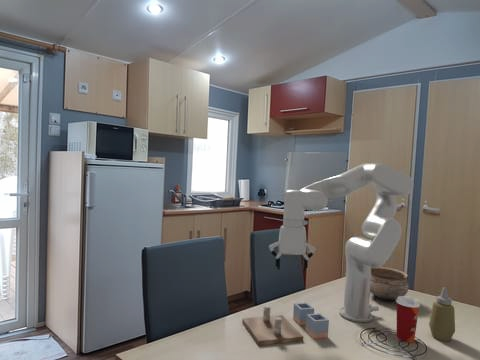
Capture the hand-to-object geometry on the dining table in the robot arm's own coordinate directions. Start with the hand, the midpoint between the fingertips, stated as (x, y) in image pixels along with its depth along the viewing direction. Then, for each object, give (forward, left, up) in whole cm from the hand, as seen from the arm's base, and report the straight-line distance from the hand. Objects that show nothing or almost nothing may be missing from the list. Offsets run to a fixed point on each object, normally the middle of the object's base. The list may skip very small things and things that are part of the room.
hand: (291, 269), depth 128 cm
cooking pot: (-57, -16, -20) cm, 63 cm away
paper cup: (-36, +19, -20) cm, 46 cm away
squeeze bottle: (-50, +21, -20) cm, 58 cm away
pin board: (+9, +5, -20) cm, 23 cm away
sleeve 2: (-6, +10, -20) cm, 23 cm away
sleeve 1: (-6, 0, -20) cm, 21 cm away
